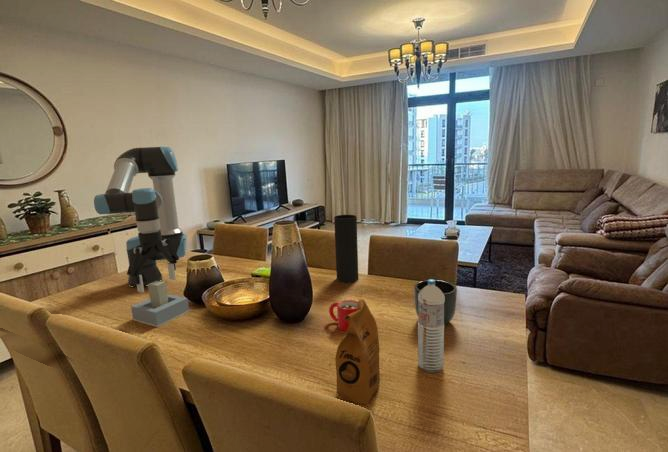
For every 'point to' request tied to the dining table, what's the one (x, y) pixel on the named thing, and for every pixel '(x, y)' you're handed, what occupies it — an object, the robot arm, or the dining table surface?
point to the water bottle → (431, 328)
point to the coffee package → (358, 357)
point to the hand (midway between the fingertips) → (157, 285)
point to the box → (158, 294)
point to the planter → (449, 293)
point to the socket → (160, 311)
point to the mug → (343, 312)
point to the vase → (346, 248)
